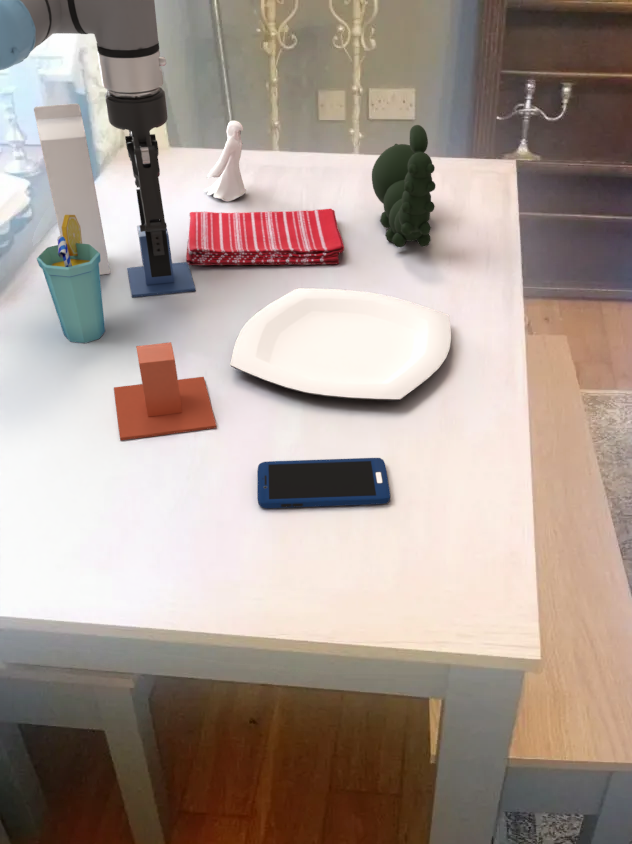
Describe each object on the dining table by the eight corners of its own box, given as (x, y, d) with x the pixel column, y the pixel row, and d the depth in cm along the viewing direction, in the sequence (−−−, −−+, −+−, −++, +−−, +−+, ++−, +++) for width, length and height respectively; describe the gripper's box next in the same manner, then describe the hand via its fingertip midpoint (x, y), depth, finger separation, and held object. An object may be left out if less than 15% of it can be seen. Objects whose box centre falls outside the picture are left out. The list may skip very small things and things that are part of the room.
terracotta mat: (120, 440, 102) (119, 437, 102) (114, 390, 109) (113, 387, 109) (216, 428, 104) (216, 425, 103) (204, 379, 111) (203, 376, 111)
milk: (110, 274, 132) (82, 110, 116) (68, 279, 131) (34, 114, 115) (106, 256, 136) (78, 96, 120) (65, 261, 135) (31, 99, 119)
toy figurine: (443, 271, 137) (420, 194, 153) (458, 143, 122) (430, 72, 138) (382, 273, 136) (365, 195, 152) (390, 144, 122) (369, 73, 138)
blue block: (146, 285, 128) (139, 236, 124) (144, 273, 131) (136, 225, 126) (174, 282, 129) (168, 234, 124) (171, 270, 132) (165, 222, 127)
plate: (413, 428, 104) (414, 413, 103) (203, 384, 110) (201, 369, 109) (470, 322, 122) (472, 309, 120) (287, 290, 128) (286, 277, 127)
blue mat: (132, 297, 127) (131, 295, 126) (127, 270, 133) (126, 267, 133) (195, 291, 128) (195, 288, 128) (188, 264, 134) (187, 261, 134)
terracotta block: (147, 417, 105) (138, 363, 100) (144, 399, 107) (136, 345, 102) (182, 412, 105) (174, 359, 100) (178, 395, 108) (171, 341, 103)
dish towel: (345, 265, 134) (345, 248, 132) (185, 267, 133) (184, 250, 131) (336, 220, 146) (336, 203, 144) (190, 221, 145) (188, 204, 143)
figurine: (239, 206, 150) (234, 129, 142) (195, 200, 152) (187, 124, 143) (254, 189, 155) (250, 114, 147) (212, 184, 157) (205, 109, 148)
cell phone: (391, 504, 94) (391, 498, 93) (257, 509, 93) (257, 503, 92) (384, 462, 99) (384, 456, 98) (257, 466, 98) (257, 461, 98)
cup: (116, 360, 114) (94, 244, 104) (53, 366, 113) (25, 249, 103) (112, 309, 124) (92, 198, 114) (55, 314, 123) (29, 202, 112)
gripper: (175, 118, 105) (193, 291, 120) (154, 60, 122) (173, 217, 137) (109, 122, 104) (137, 296, 119) (98, 63, 121) (123, 222, 136)
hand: (156, 254), depth 128 cm, fingers open, 13 cm apart
